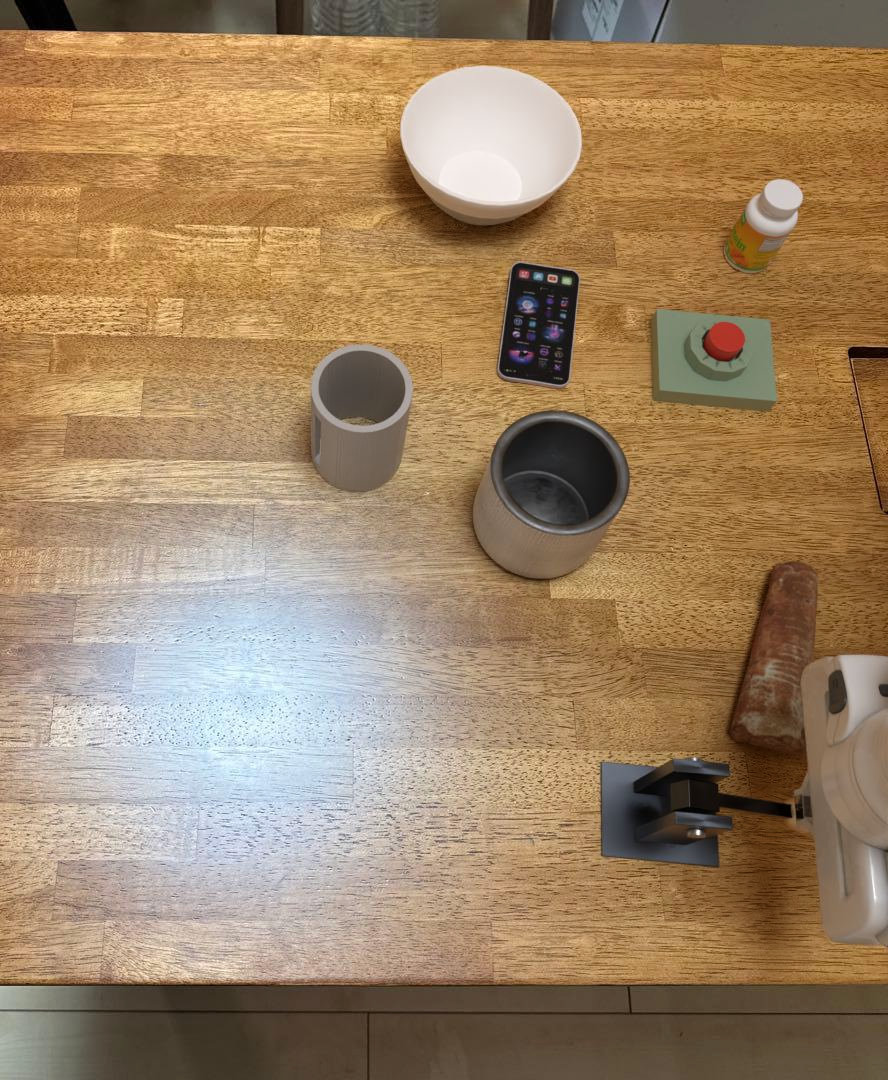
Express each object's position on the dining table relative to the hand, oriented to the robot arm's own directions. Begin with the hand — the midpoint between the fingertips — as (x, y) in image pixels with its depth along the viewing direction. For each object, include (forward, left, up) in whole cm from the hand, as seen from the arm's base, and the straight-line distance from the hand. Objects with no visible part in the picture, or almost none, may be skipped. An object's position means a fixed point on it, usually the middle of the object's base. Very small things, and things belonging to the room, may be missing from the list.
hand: (804, 810), depth 81 cm
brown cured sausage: (-2, -15, -9) cm, 18 cm away
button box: (+2, -47, -9) cm, 48 cm away
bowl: (+27, -68, -9) cm, 74 cm away
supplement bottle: (-3, -62, -9) cm, 63 cm away
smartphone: (+20, -50, -9) cm, 55 cm away
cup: (+38, -33, -9) cm, 51 cm away
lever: (+5, 0, -2) cm, 5 cm away
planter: (+20, -27, -9) cm, 35 cm away
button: (+2, -47, -5) cm, 47 cm away
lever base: (+9, 0, -9) cm, 13 cm away
